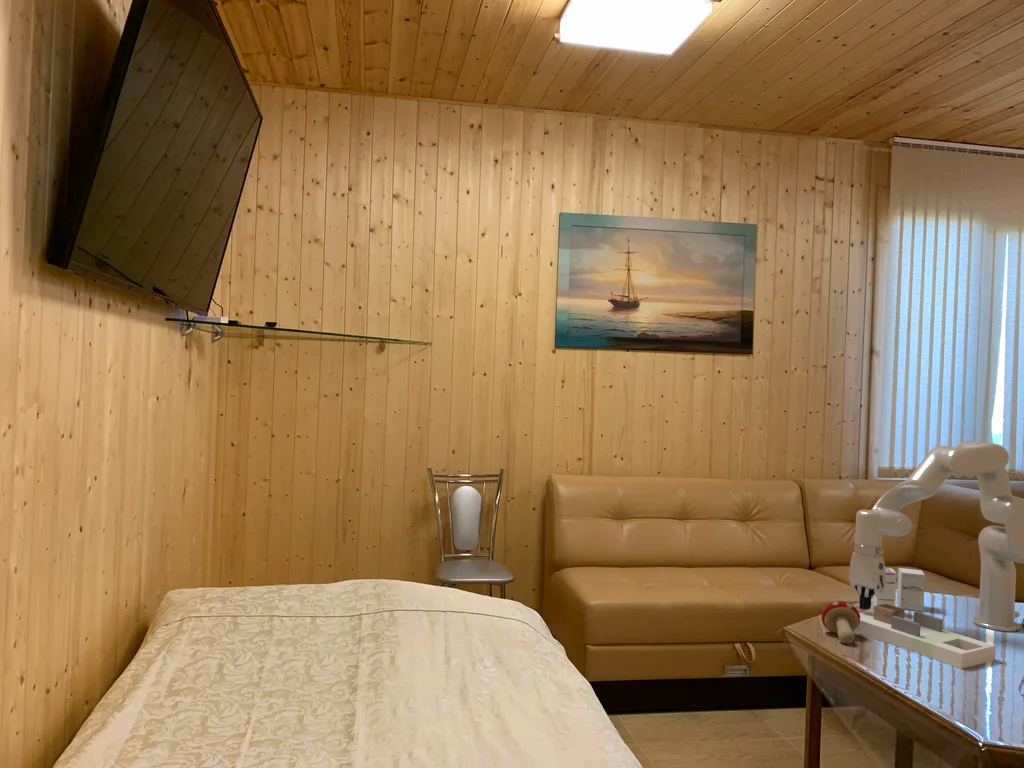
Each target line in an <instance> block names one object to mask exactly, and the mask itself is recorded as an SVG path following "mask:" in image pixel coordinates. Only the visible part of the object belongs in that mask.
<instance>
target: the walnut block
mask: <svg viewBox="0 0 1024 768" xmlns="http://www.w3.org/2000/svg"><path fill="white" fill-rule="evenodd" d="M873 610H874V619H875V620H878V621H881V622H884V623H887V624H890V625H891V621H892V616H897V617H900V618H903V619H904V617H905V610H906V609H902V608H899V606H898V607H897V606H896V605H895V606H892V605H889V604H883V605H877V606H874V609H873Z"/></svg>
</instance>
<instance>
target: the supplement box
mask: <svg viewBox="0 0 1024 768" xmlns="http://www.w3.org/2000/svg"><path fill="white" fill-rule="evenodd" d="M925 579H926V574H925V573H924V572H923V570H921V569H920V570H919V569H913V568H903V567H898V572H897V591H896V592H897V593H896V596H897V597H896V604H897V606H898V607H899V608H902V609H905V610H909V611H915V612H921V613H922V612H924V603H925V584H926V583H925V581H926V580H925Z"/></svg>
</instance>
